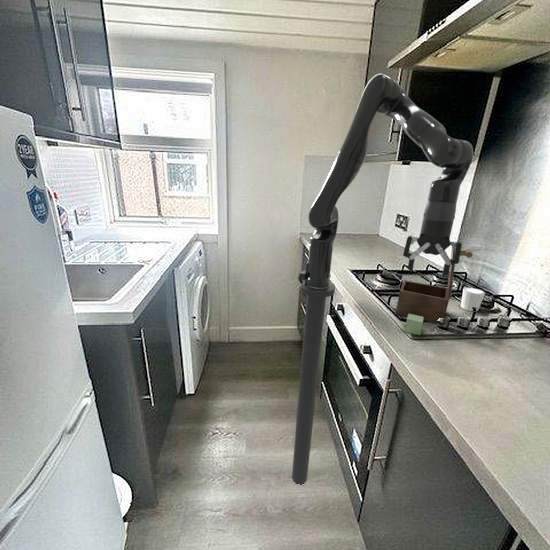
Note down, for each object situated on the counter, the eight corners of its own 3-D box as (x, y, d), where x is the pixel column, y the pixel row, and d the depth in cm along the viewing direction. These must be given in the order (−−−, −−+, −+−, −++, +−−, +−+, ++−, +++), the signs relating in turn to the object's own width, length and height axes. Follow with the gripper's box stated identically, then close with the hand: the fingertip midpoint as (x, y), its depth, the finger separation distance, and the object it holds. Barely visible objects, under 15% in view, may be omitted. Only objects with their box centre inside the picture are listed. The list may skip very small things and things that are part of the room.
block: (404, 331, 93) (407, 318, 91) (405, 325, 96) (408, 313, 95) (420, 335, 91) (422, 322, 89) (420, 329, 94) (423, 316, 93)
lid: (453, 250, 91) (474, 251, 89) (452, 243, 102) (471, 243, 99) (447, 298, 95) (468, 300, 93) (447, 286, 106) (465, 288, 103)
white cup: (473, 304, 115) (477, 287, 113) (484, 312, 109) (489, 294, 107) (455, 303, 116) (459, 286, 113) (465, 311, 109) (470, 293, 107)
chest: (395, 314, 104) (400, 290, 102) (400, 301, 115) (404, 280, 112) (442, 324, 98) (449, 300, 95) (443, 310, 109) (448, 288, 106)
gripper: (467, 219, 83) (453, 275, 88) (411, 214, 89) (402, 266, 94) (469, 222, 77) (454, 282, 82) (409, 217, 83) (399, 272, 88)
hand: (426, 273), depth 88 cm, fingers open, 8 cm apart
